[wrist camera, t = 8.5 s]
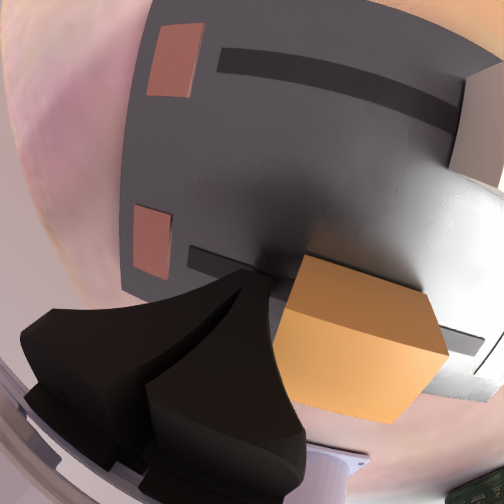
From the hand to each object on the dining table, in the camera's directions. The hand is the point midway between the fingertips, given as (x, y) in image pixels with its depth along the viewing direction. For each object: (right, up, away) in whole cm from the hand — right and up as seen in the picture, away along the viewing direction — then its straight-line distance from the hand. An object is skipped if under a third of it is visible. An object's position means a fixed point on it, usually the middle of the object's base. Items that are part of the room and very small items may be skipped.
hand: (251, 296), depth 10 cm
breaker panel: (+5, +3, 0) cm, 6 cm away
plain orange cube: (+4, -1, 0) cm, 4 cm away
